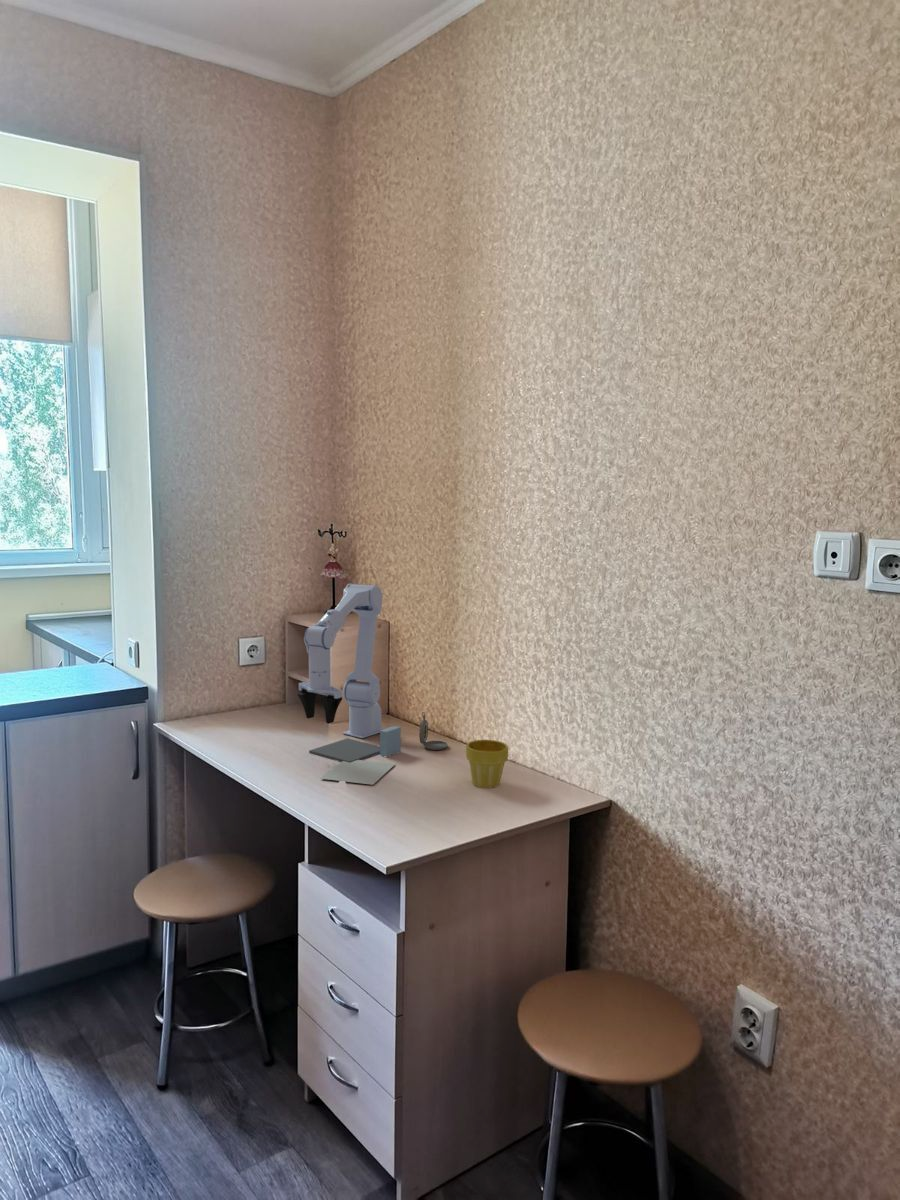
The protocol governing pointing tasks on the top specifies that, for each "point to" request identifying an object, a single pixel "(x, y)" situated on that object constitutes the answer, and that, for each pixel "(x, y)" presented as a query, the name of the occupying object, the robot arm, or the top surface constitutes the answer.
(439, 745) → the pocket watch
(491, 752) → the plant pot
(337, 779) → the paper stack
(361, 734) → the robot arm
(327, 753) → the mat
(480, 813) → the top surface
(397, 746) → the blue-grey rectangular block
